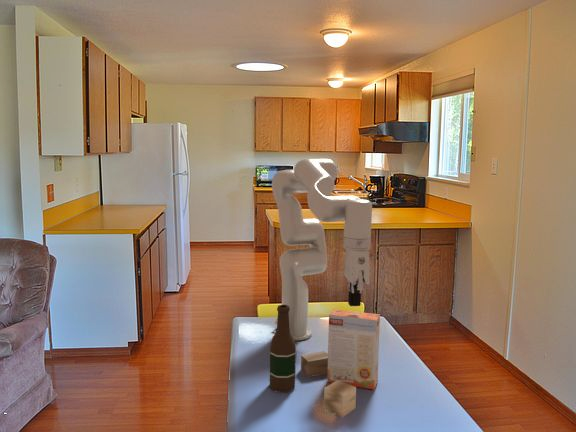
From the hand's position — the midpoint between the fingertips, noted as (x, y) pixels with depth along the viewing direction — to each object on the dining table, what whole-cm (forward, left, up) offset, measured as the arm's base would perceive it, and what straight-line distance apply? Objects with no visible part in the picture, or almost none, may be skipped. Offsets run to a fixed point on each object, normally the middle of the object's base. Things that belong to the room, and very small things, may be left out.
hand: (354, 305), depth 144 cm
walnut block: (-12, -2, -23) cm, 26 cm away
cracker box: (+1, -1, -24) cm, 23 cm away
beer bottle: (-13, -16, -23) cm, 31 cm away
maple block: (+6, -15, -23) cm, 29 cm away
